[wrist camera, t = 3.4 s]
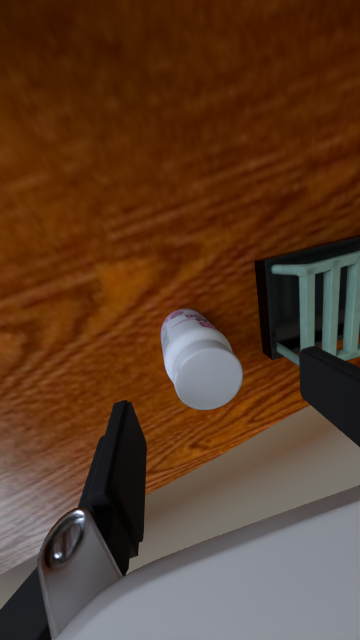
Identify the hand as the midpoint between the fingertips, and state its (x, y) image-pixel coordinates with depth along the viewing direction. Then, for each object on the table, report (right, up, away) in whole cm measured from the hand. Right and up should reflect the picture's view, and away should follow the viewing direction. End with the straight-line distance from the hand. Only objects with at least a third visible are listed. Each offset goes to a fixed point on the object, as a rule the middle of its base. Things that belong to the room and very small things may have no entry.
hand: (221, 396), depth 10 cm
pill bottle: (-2, +3, +9) cm, 9 cm away
